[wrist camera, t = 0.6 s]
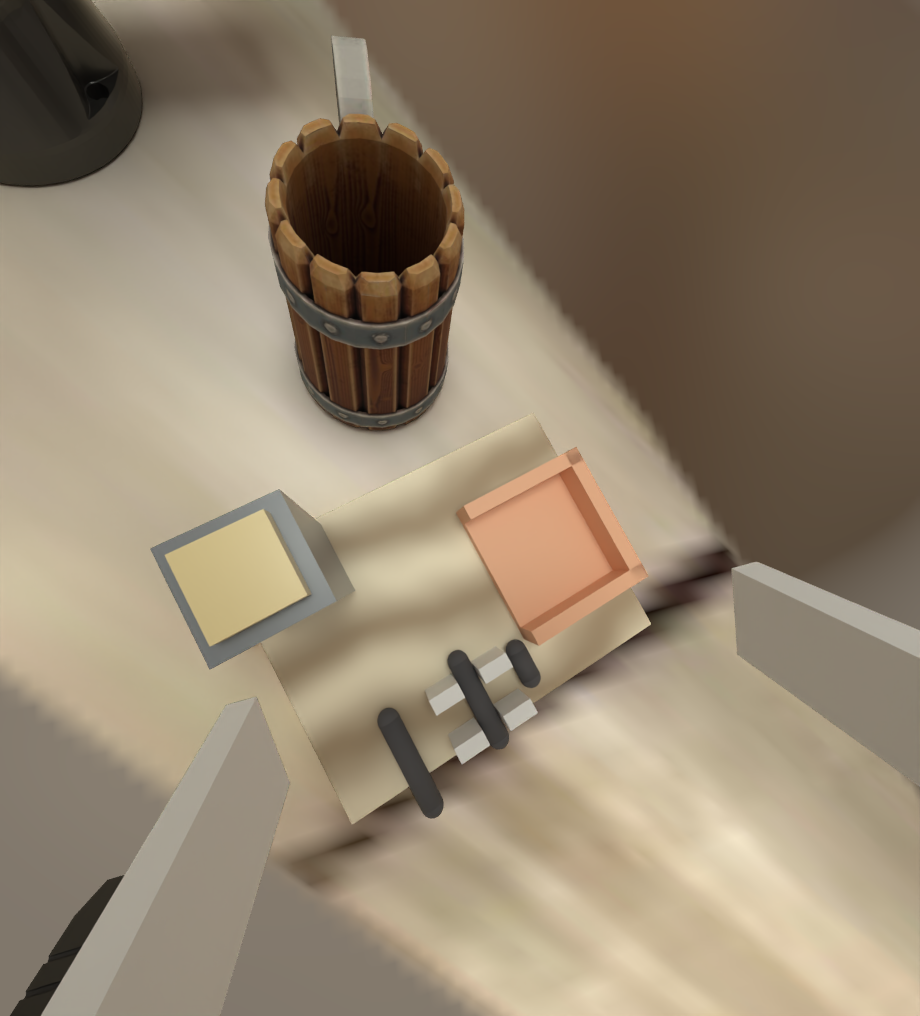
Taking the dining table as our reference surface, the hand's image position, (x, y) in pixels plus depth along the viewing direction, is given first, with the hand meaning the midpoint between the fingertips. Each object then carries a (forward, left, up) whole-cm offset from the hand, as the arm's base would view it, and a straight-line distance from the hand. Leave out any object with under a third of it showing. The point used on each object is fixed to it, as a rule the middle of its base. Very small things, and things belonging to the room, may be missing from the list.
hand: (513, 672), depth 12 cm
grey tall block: (-6, -6, -18) cm, 20 cm away
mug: (-20, +6, -20) cm, 29 cm away
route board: (0, +2, -19) cm, 19 cm away
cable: (+7, -1, -18) cm, 19 cm away
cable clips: (+6, 0, -18) cm, 19 cm away
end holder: (0, +9, -18) cm, 20 cm away
